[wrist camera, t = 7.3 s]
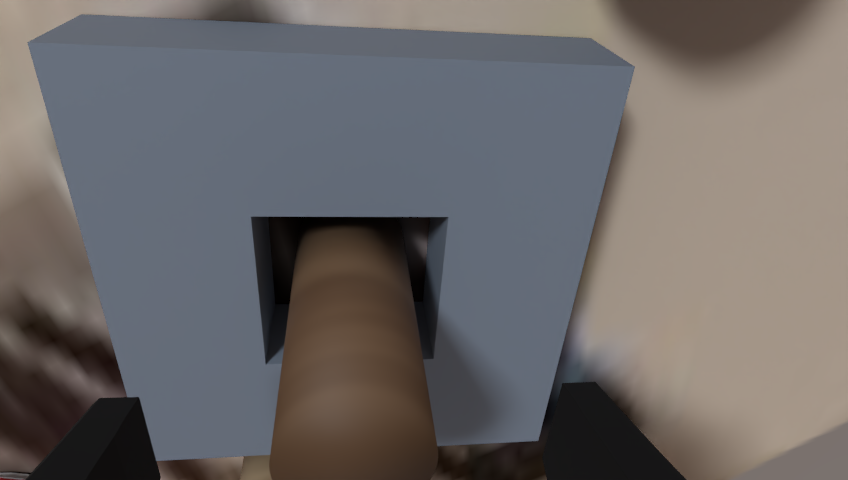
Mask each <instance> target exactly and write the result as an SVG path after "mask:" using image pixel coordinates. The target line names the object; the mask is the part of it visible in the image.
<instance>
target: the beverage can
mask: <svg viewBox="0 0 848 480" xmlns="http://www.w3.org/2000/svg"><path fill="white" fill-rule="evenodd" d="M29 475H30V474H22V473H12V472H7V473H0V480H25V479H26V478H27V477H28V476H29Z"/></svg>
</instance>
